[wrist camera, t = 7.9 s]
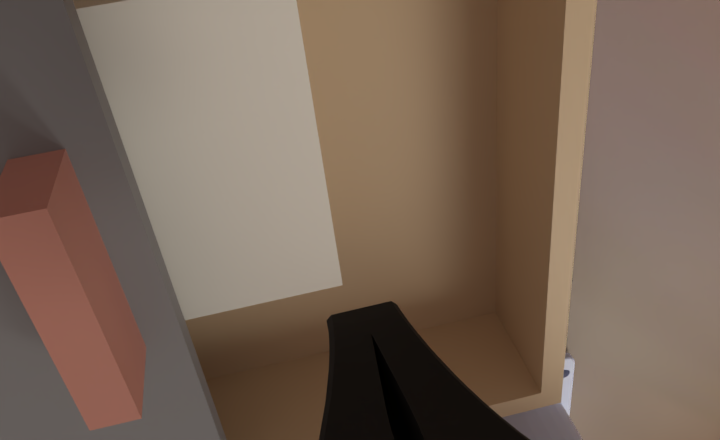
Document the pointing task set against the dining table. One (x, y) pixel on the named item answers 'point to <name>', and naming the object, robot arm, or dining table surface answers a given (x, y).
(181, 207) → the mailer box
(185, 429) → the mailer lid
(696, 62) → the dining table surface
